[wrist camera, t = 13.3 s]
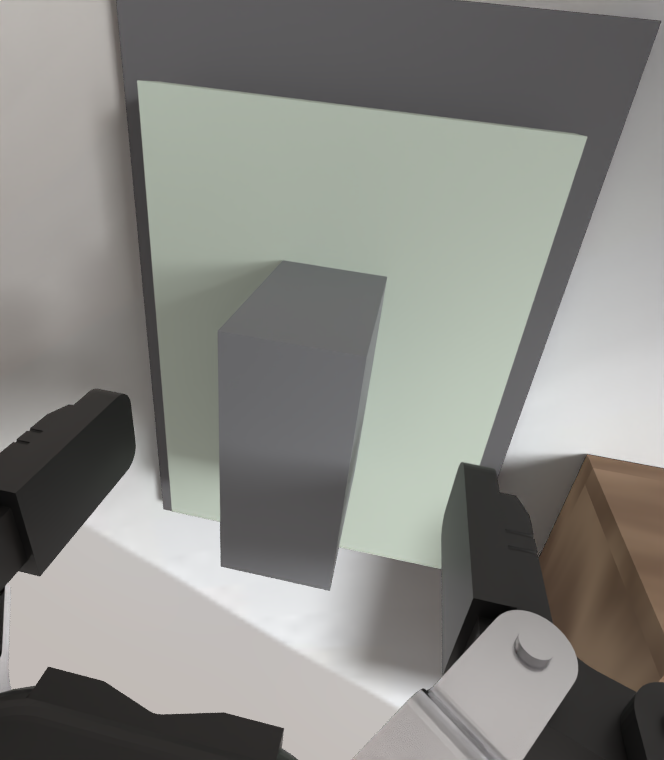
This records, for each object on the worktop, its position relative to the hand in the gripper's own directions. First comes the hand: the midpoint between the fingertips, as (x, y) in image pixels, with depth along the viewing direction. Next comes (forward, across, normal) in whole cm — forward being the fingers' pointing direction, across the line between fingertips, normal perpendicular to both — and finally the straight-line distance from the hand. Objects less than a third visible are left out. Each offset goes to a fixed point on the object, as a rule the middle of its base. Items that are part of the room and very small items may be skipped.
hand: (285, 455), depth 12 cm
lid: (+6, 0, 0) cm, 6 cm away
